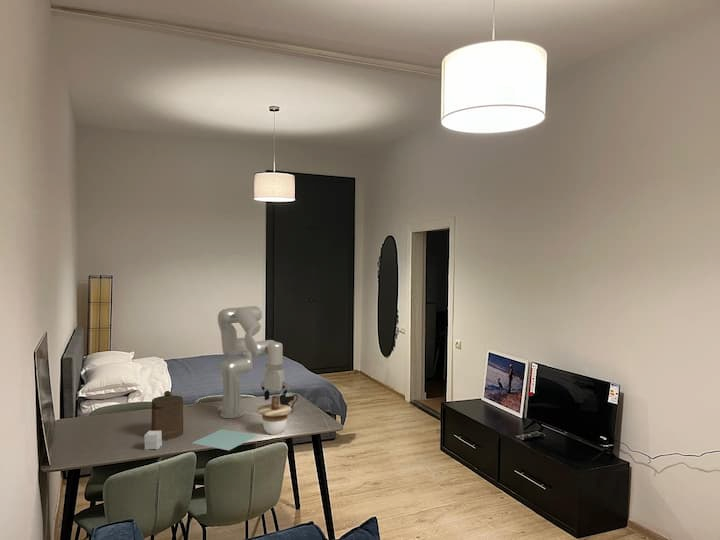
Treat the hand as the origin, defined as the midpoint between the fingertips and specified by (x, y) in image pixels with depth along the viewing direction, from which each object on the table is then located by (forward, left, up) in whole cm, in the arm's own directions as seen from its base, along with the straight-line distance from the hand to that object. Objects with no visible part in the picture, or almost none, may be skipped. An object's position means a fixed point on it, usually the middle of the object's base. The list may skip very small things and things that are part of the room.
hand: (274, 400), depth 268 cm
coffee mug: (-13, +34, -16) cm, 40 cm away
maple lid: (0, 0, -5) cm, 5 cm away
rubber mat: (-16, -19, -16) cm, 30 cm away
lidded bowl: (0, 0, -16) cm, 16 cm away
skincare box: (-39, -42, -17) cm, 60 cm away
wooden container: (-46, -26, -17) cm, 55 cm away
